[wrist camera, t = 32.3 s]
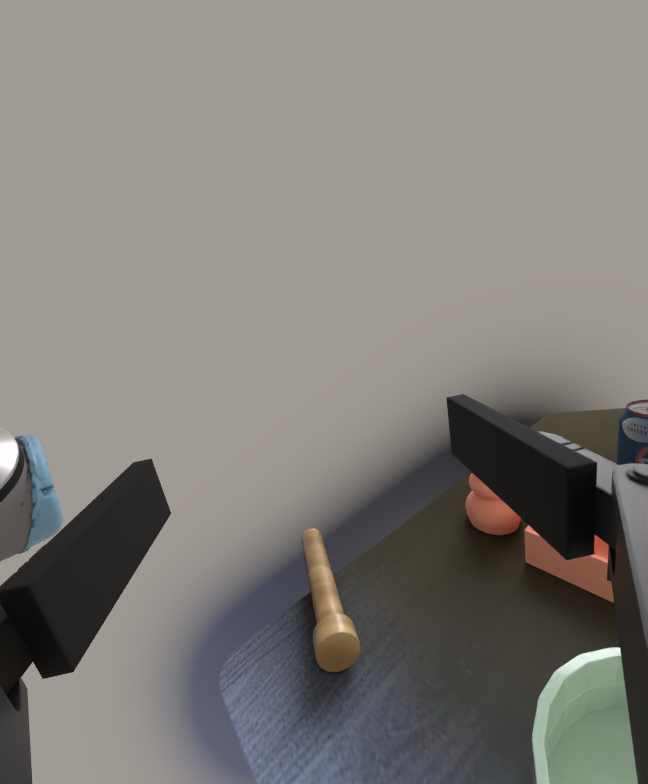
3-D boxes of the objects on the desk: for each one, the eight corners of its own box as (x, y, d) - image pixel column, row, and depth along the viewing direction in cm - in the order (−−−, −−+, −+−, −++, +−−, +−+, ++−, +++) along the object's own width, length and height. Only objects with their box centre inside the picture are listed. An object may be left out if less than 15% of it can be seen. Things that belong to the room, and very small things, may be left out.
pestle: (311, 672, 28) (294, 549, 45) (355, 672, 29) (322, 551, 45) (320, 631, 28) (299, 523, 44) (364, 632, 28) (328, 525, 45)
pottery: (659, 552, 34) (667, 469, 31) (638, 614, 29) (645, 520, 26) (486, 493, 48) (482, 433, 46) (451, 527, 43) (444, 461, 40)
